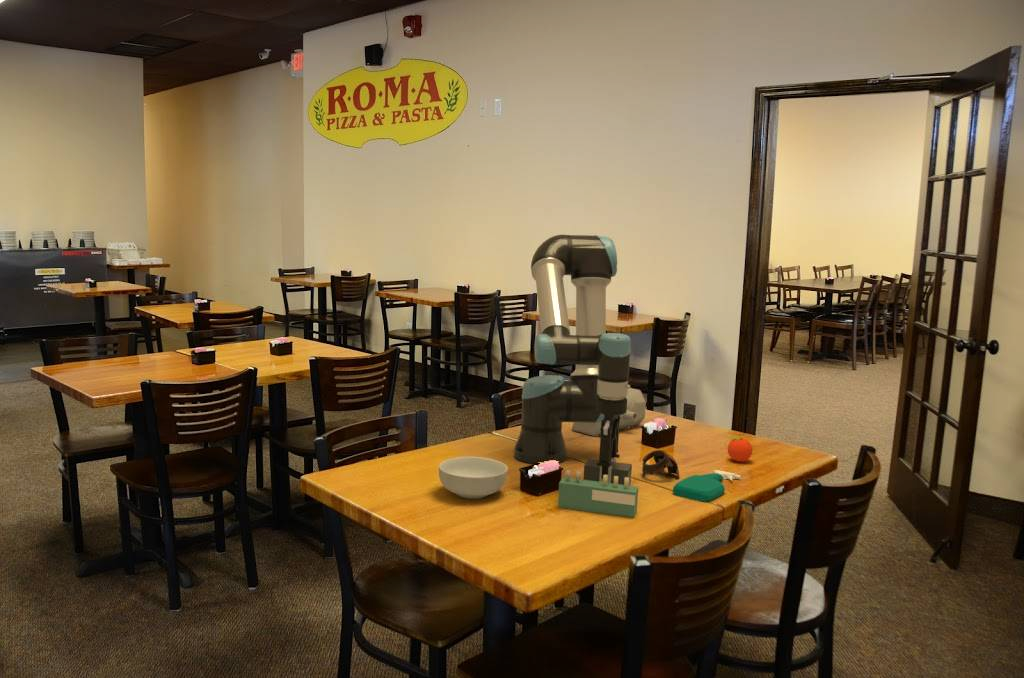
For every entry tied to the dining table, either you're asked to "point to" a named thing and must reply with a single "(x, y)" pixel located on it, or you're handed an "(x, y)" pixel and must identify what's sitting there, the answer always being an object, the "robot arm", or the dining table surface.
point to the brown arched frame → (660, 463)
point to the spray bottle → (703, 486)
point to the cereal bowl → (472, 476)
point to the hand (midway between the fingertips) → (606, 486)
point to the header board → (598, 496)
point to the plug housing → (617, 470)
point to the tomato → (739, 449)
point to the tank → (628, 419)
